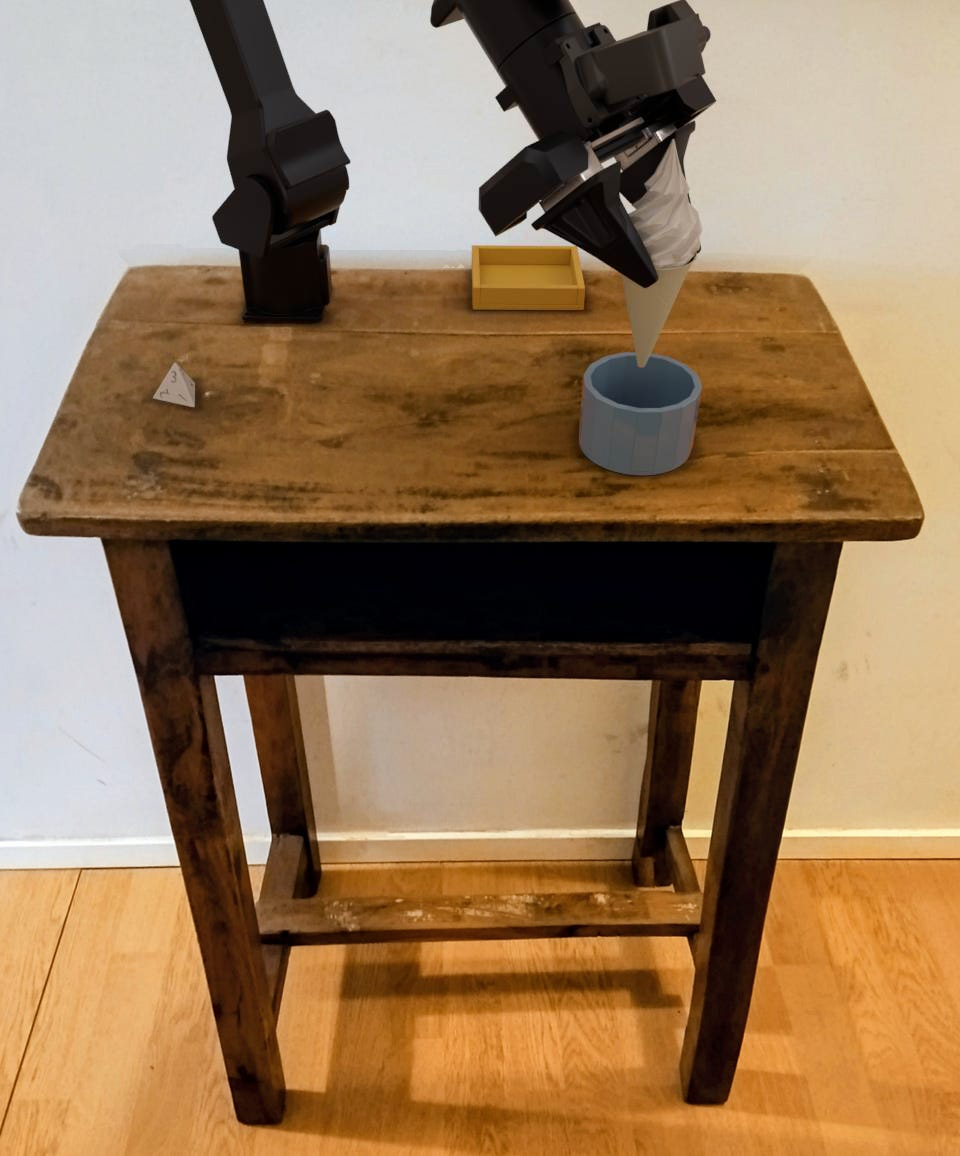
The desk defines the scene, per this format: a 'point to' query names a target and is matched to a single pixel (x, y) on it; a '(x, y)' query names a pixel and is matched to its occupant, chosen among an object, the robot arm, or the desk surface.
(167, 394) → the tetrahedral die
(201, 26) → the robot arm
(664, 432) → the cup
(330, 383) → the desk surface
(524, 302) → the tray
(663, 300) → the ice cream cone
